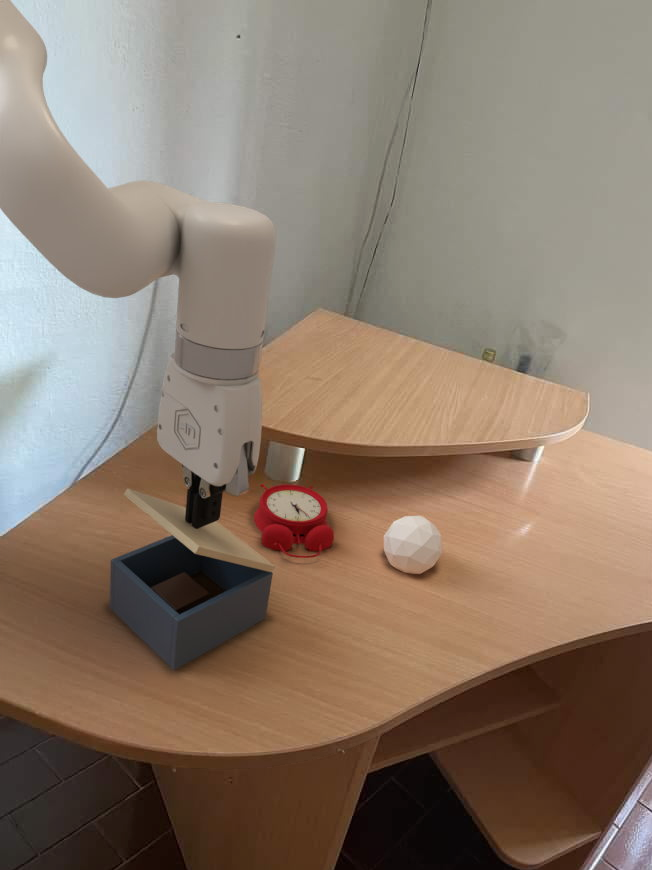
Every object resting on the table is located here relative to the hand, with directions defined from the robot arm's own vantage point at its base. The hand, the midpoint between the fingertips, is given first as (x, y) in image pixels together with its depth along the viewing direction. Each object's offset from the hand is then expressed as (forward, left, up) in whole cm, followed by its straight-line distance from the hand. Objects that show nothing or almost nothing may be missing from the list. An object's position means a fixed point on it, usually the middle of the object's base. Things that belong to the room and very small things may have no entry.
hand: (202, 520), depth 71 cm
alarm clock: (-5, +20, -14) cm, 25 cm away
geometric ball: (+9, +28, -14) cm, 33 cm away
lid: (0, 0, -2) cm, 2 cm away
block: (0, -2, -13) cm, 13 cm away
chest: (0, -1, -13) cm, 14 cm away
